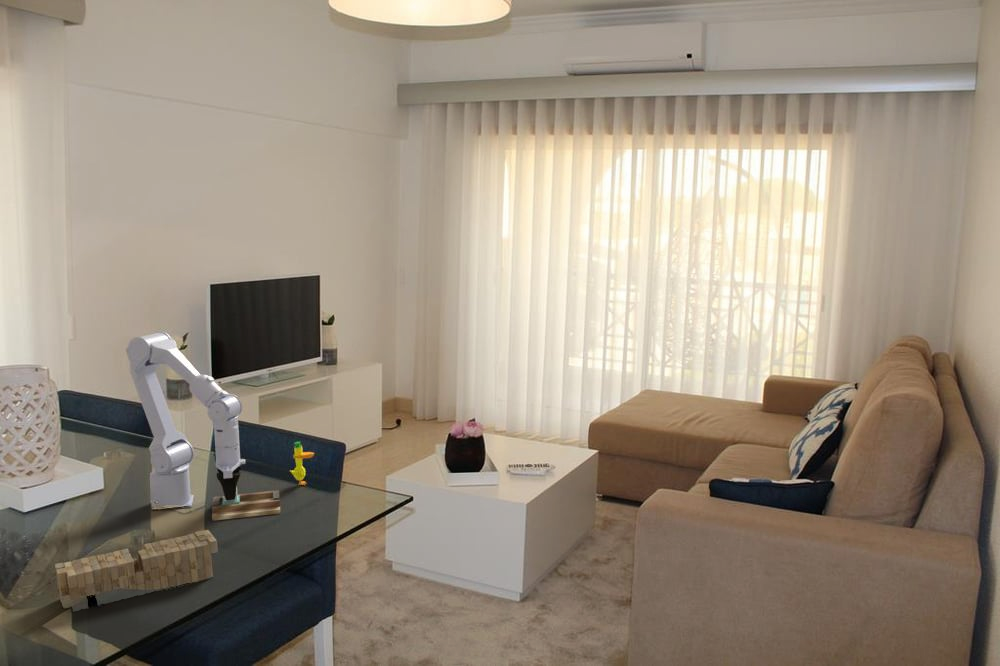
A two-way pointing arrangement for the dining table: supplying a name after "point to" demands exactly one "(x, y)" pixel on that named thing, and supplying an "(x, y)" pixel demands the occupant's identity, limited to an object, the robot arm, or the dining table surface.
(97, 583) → the block tower
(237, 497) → the slider
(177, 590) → the dining table surface
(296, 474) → the toy figure
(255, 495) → the track
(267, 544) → the dining table surface
